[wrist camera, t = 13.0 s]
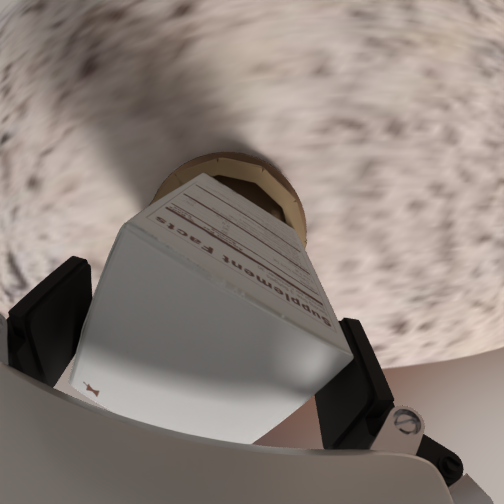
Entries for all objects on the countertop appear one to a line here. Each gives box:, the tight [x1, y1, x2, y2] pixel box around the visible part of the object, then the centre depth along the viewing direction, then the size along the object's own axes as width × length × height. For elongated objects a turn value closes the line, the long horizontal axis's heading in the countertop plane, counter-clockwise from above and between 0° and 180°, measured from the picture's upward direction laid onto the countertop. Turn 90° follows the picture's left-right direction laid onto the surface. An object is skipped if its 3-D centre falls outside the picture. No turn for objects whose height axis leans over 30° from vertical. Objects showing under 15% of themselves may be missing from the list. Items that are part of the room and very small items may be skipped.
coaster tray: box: [149, 152, 307, 248], centre depth 21 cm, size 12×12×4 cm
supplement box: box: [69, 173, 353, 444], centre depth 14 cm, size 7×7×13 cm
